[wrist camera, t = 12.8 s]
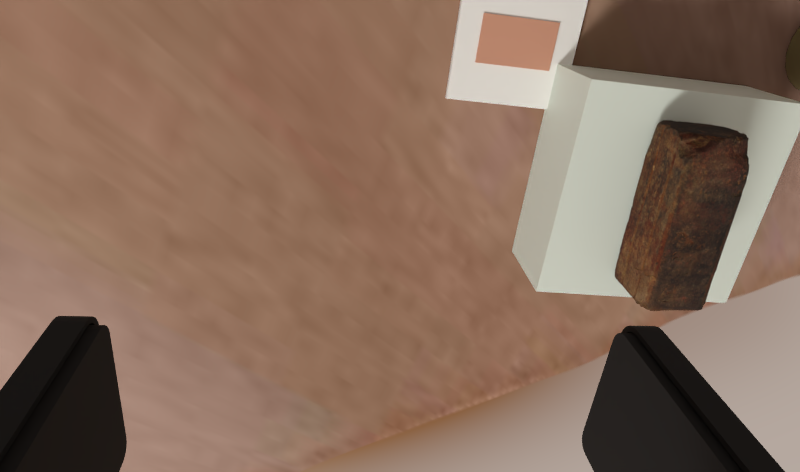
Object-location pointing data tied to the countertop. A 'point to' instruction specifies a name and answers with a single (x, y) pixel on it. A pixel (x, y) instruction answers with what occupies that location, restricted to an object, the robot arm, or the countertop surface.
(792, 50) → the cork
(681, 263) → the brick
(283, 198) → the countertop surface
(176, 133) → the countertop surface
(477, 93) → the card
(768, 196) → the sage block
